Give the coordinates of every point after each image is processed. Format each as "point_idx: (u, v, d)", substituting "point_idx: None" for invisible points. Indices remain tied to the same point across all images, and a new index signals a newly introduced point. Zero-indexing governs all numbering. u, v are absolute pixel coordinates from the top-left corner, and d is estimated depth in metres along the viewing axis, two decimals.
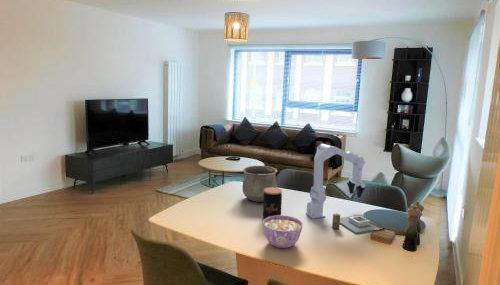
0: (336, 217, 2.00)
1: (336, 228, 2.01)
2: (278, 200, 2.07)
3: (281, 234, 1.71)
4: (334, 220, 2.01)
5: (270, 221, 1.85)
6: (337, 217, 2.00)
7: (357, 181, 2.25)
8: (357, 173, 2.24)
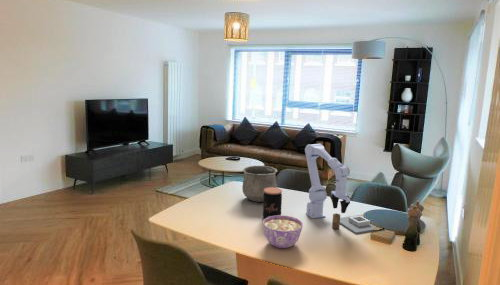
0: (336, 217, 2.00)
1: (336, 228, 2.01)
2: (278, 200, 2.07)
3: (281, 234, 1.71)
4: (334, 220, 2.01)
5: (270, 221, 1.85)
6: (337, 217, 2.00)
7: (341, 195, 2.00)
8: (336, 184, 2.02)
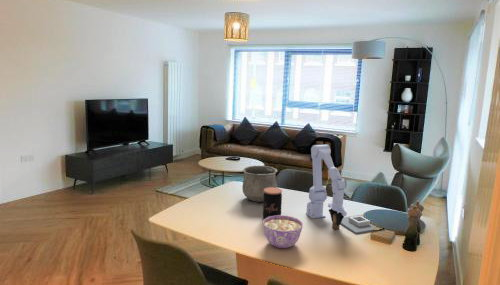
0: None
1: (336, 228, 2.01)
2: (278, 200, 2.07)
3: (281, 234, 1.71)
4: (334, 220, 2.01)
5: (270, 221, 1.85)
6: None
7: (338, 208, 1.98)
8: None
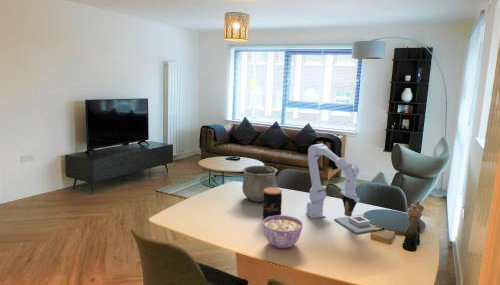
0: (348, 204, 2.02)
1: (348, 215, 2.03)
2: (278, 200, 2.07)
3: (281, 234, 1.71)
4: (346, 207, 2.02)
5: (270, 221, 1.85)
6: None
7: (350, 194, 2.00)
8: (346, 184, 2.01)
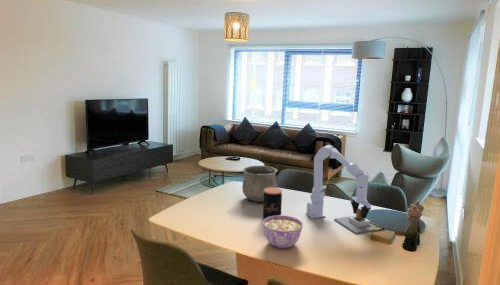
0: (360, 212, 2.06)
1: None
2: (278, 200, 2.07)
3: (281, 234, 1.71)
4: (358, 215, 2.07)
5: (270, 221, 1.85)
6: (360, 212, 2.06)
7: (362, 201, 2.04)
8: (358, 191, 2.04)
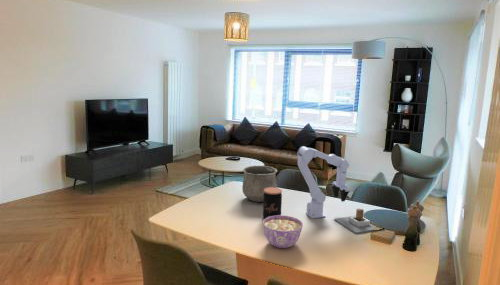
0: (360, 212, 2.06)
1: None
2: (278, 200, 2.07)
3: (281, 234, 1.71)
4: (358, 215, 2.07)
5: (270, 221, 1.85)
6: (360, 212, 2.06)
7: (341, 185, 2.19)
8: (340, 176, 2.18)
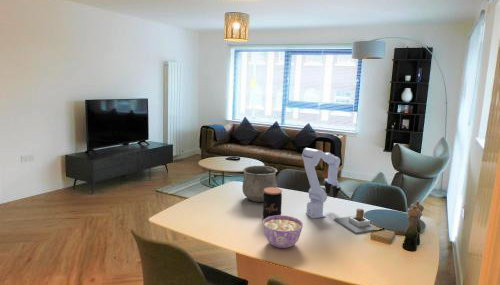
0: (360, 212, 2.06)
1: None
2: (278, 200, 2.07)
3: (281, 234, 1.71)
4: (358, 215, 2.06)
5: (270, 221, 1.85)
6: (360, 212, 2.06)
7: (333, 181, 2.26)
8: (334, 173, 2.25)
